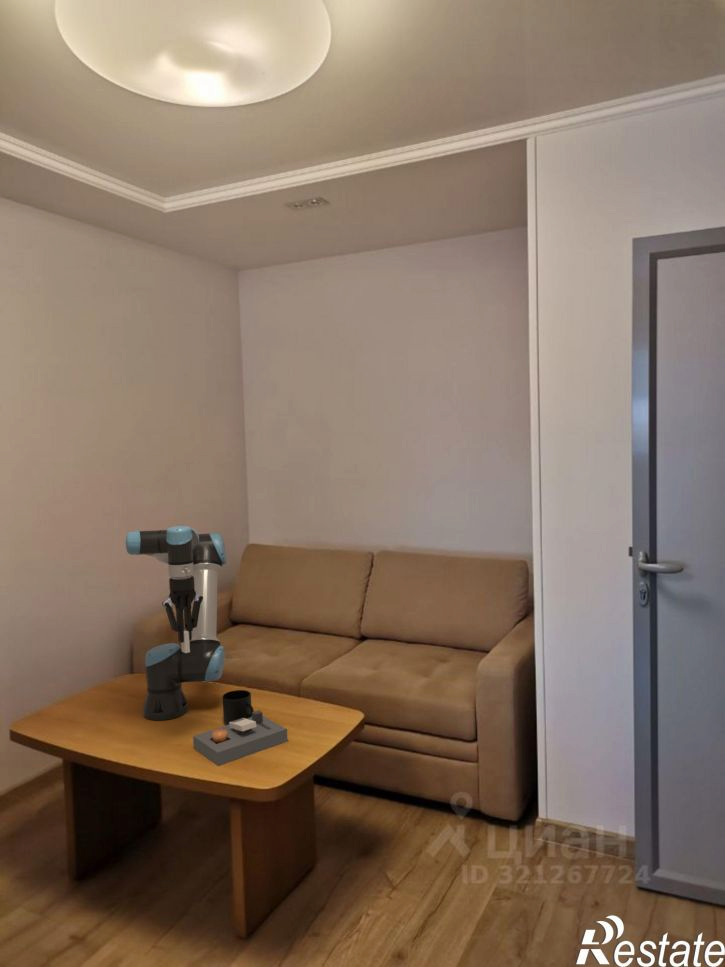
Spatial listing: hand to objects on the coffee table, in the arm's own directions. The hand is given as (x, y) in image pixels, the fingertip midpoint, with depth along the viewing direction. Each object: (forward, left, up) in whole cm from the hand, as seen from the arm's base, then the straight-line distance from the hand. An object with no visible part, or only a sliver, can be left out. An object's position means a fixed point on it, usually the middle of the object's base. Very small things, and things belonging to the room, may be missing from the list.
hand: (185, 651), depth 227 cm
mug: (-4, +20, -30) cm, 36 cm away
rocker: (+12, +12, -23) cm, 29 cm away
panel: (+12, +11, -29) cm, 34 cm away
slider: (+9, +19, -25) cm, 33 cm away
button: (+12, +4, -29) cm, 32 cm away
